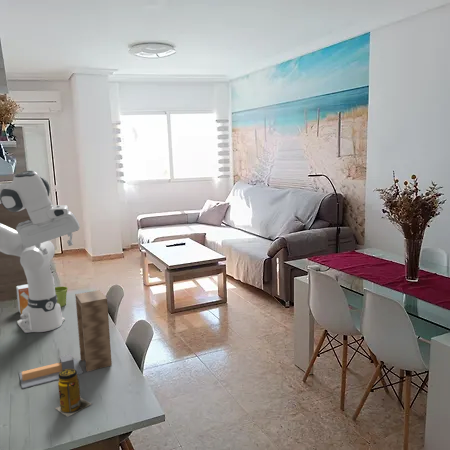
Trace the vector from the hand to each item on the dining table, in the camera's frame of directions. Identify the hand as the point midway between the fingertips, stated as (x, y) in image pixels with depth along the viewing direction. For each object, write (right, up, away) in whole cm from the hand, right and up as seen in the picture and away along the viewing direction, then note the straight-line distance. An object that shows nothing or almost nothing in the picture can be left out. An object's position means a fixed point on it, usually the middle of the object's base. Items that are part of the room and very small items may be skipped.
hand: (58, 249), depth 163 cm
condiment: (+14, -48, -24) cm, 55 cm away
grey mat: (-1, -44, -3) cm, 44 cm away
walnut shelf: (+12, -43, +4) cm, 45 cm away
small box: (-37, -34, +58) cm, 77 cm away
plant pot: (-24, -33, +66) cm, 77 cm away
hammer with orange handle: (-2, -44, -4) cm, 44 cm away
